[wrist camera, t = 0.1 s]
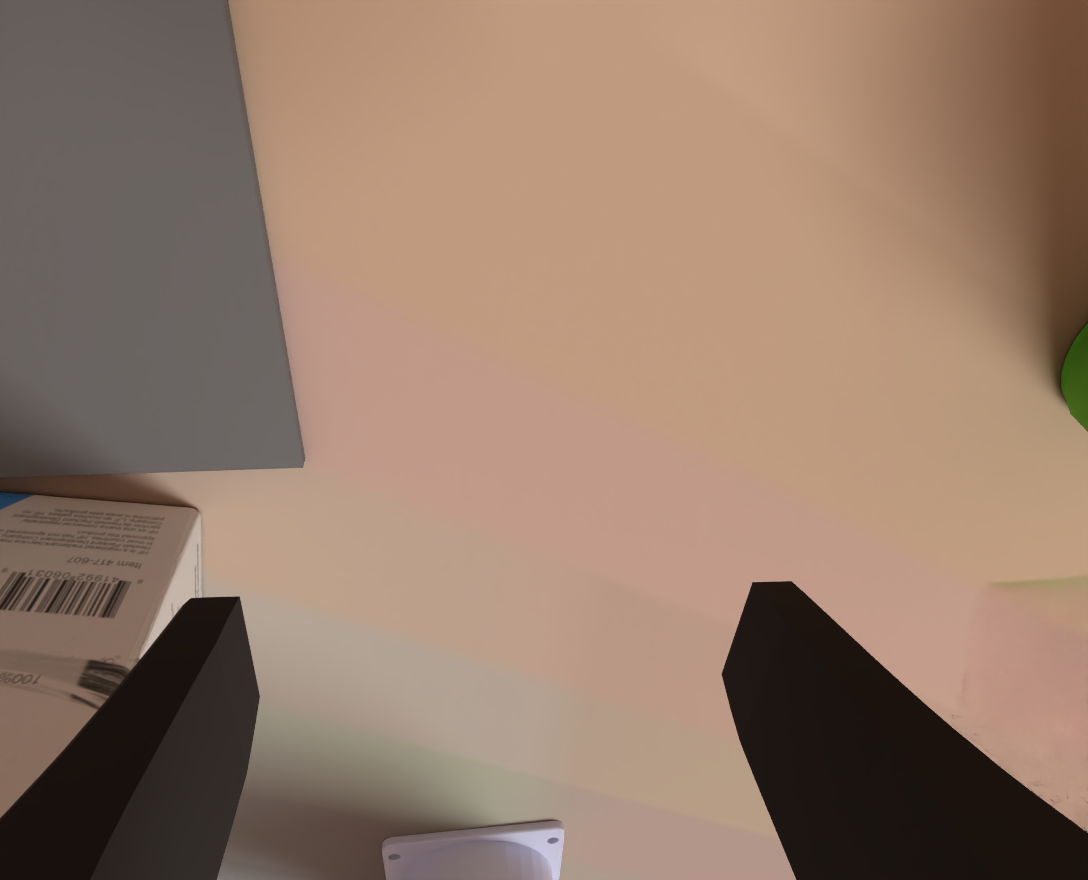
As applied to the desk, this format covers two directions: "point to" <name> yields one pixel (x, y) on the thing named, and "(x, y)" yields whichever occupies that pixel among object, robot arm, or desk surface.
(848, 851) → the robot arm
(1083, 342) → the cup
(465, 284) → the desk surface
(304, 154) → the desk surface
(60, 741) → the ink box
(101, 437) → the mat
